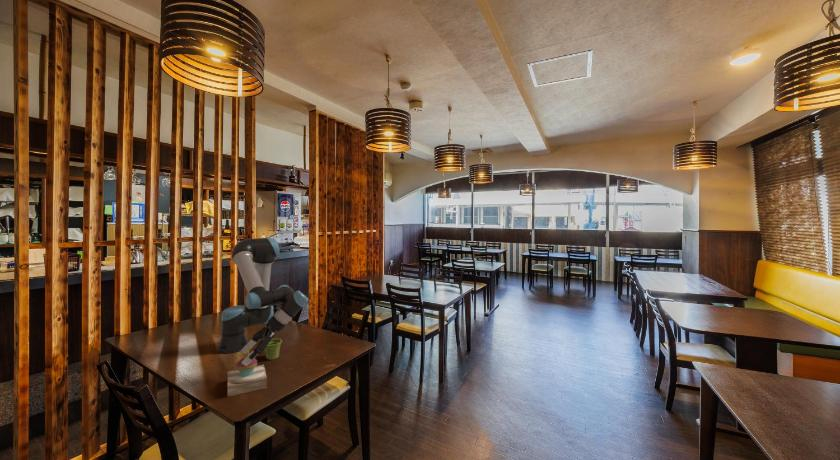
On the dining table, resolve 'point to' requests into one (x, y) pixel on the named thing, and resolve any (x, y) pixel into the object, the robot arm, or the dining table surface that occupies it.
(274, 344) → the plant pot
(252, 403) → the dining table surface
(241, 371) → the cupcake
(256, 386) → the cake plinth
